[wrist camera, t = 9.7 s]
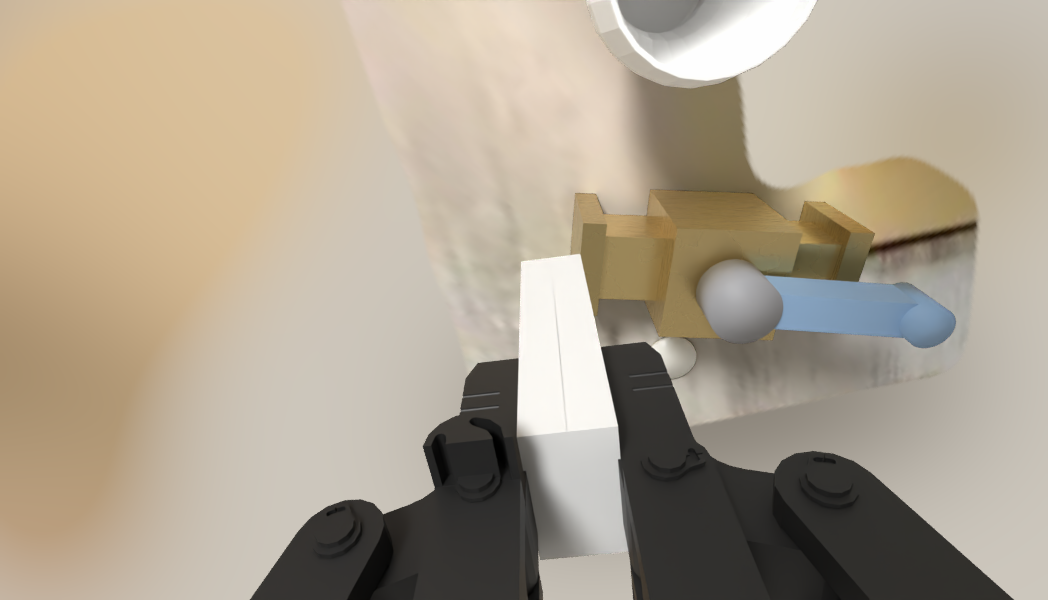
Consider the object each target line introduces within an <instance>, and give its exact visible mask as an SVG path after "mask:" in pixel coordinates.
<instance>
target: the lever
mask: <svg viewBox="0 0 1048 600" xmlns="http://www.w3.org/2000/svg"><path fill="white" fill-rule="evenodd" d="M696 299H697V303H698V305H699V307H700V308H701V310H702V312H703V314H704V315H705V317H706V319H707V320H708V322H709V324H710V325H711V327H712V329H713V330H714V332H715V333H716V334H717V335H718V336H719V337H720V338H721V339H723V340H725V341H728V342H731V343H737V344H743V343H750V342H754V341H756V340H759V339H761V338H763V337H764V336H766V335H767V334H769V333H770V332H771V331H772V330H773V329H781V330H796V331H811V332H825V333H840V334H855V335H870V336H884V337H899V338H905V339H906V340H907V341H908V342H910V343H911V344H912V345H913V346H915V347H919V348H929V347H933V346H936V345H938V344H940V343H942V342H943V341H945V340H946V339H947V338H948V337H949V336H950V335H951V334H952V332H953V330H954V328H955V324H956V320H955V316H954V315H953V313H952V312H950V311H949V310H947V309H946V308H945V307H943V306H942V305H940V304H939V303H937V302H936V301H935V300H933V299H932V298H930V297H929V296H927V295H926V294H925V293H923V292H922V291H920V290H919V289H917V288H916V287H915V286H913V285H912V284H909V283H896V284H893V285H892V284H877V283H863V282H849V281H835V280H821V279H807V278H792V277H778V276H764V275H763V274H762V273H761V272H760V271H759V270H758V268H757V267H756V266H754V265H753V264H751V263H750V262H747V261H744V260H739V259H731V260H725V261H722V262H719V263H717V264H715V265H714V266H712V267H711V268H709V269H708V270H707V271H706V272H705V273H704V274H703V275H702V277H701V278H700V280H699V282H698V285H697V288H696Z"/></svg>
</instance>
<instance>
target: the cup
mask: <svg viewBox="0 0 1048 600" xmlns="http://www.w3.org/2000/svg"><path fill="white" fill-rule="evenodd" d="M817 1H818V0H586V4H587V7H588V10H589V13H590V16H591V18H592V21H593V24H594V27H595V30H596V32H597V34H598V35H599V37H600V38H601V40H602V41H603V43H604V44H605V45H606V47H607V48H608V50H609V51H610V53H611V54H612V55H613V56H614V57H615V58H616V59H618V60H619V61H620V62H621V63H622V64H624V65H625V66H626V67H627V68H629V69H630V70H631V71H632V72H634V73H636V74H637V75H639V76H642V77H644V78H646V79H649V80H651V81H654V82H656V83H659V84H661V85H663V86H672V87H681V88H697V87H702V86H708V85H714V84H719V83H721V82H724V81H726V80H728V79H730V78H733V77H735V76H737V75H739V74H742V73H744V72H746V71H748V70H750V69H753V68H755V67H757V66H759V65H761V64H762V63H764V62H765V61H766V60H767V59H769V58H770V57H771V56H773V55H774V54H775V53H776V52H778V51H779V50H780V49H782V48H783V47H784V46H785V45H786V44H787V43H788V42H789V41H790V40H791V38H792V37H793V36H794V35H795V34H796V32H797V31H798V30H799V29H800V28H801V27H802V25H803V24H804V23H805V22H806V21H807V19H808V17H809V15H810V13H811V12H812V10H813V8H814V6H815V4H816V2H817Z"/></svg>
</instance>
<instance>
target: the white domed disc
mask: <svg viewBox="0 0 1048 600" xmlns="http://www.w3.org/2000/svg"><path fill="white" fill-rule="evenodd" d="M651 347H652V348H654V349H655V350H656V351H657V352H659V353H660V354H661V356H662V358H663V361H664V364H665V366H666V369H667V373H668V374H669V376H670V379H674V378H678V377H681V376H683V375H685V374H686V373H688V372H689V371H690V370H691V369H692V367H693V366H694V364H695V361H696V351H695V348H694V347H693V345H692V344H691V343H690V342H689V341H688V340H687V339H685V338H682V337H665V338H662V339H660V340H658V341H657V342H655V343H654V344H653V345H652V346H651Z"/></svg>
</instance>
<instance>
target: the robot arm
mask: <svg viewBox="0 0 1048 600" xmlns="http://www.w3.org/2000/svg"><path fill="white" fill-rule="evenodd" d="M423 449H424V452H425V456H426V459H427V462H428V466H429V469H430V473H431V476H432V479H433V483H434V486H435V490H434V491H433V492H431V493H430V494H429V495H427V496H426V497H424V498H423V499H421V500H419V501H416V502H414V503H412V504H410V505H408V506H405V507H402V508H399V509H397V510H394V511H391V512H388V513H386V514H382V512H381V511H380V510H379V509H378V508H377V507H376V506H375V504H373V503H370V502H367V501H364V500H345V501H342V502H339V503H336V504H333V505H331V506H328V507H326V508H324V509H323V510H321V511H320V512H318V513H317V514H315V515H314V516H312V517H311V518H310V519H309V520H308V521H307V522H306V523H305V524H304V526H303V527H302V528H301V529H300V530H299V531H298V532H297V534H296V535H295V537H294V538H293V539H292V541H291V543H290V544H289V545H288V547H287V548H286V549H285V551H284V552H283V554H282V555H281V556H280V558H279V559H278V561H277V562H276V564H275V565H274V566H273V568H272V569H271V571H270V572H269V574H268V575H267V576H266V578H265V579H264V581H263V582H262V584H261V585H260V586H259V588H258V589H257V591H256V592H255V593H254V595H253V596H252V598H251V599H250V600H543V591H542V586H541V580H540V576H539V568H538V566H539V565H538V551H539V556H540V560H545V559H556V558H567V557H578V556H589V555H599V554H611V553H621V552H622V553H623V552H629V557H630V565H631V576H632V589H633V600H1014V599H1012V598H1011V597H1010V596H1009V595H1008V594H1007V593H1006V592H1005V591H1003V590H1002V589H1001V588H1000V587H999V586H998V585H996V583H994V582H993V581H992V580H991V579H990V578H989V577H987V575H985V574H984V573H983V572H982V571H981V570H980V569H979V568H978V567H976V566H975V565H974V564H973V563H972V562H971V561H970V560H968V559H967V558H966V557H965V556H964V555H963V554H962V553H961V552H960V551H958V550H957V549H956V548H955V547H954V546H953V545H952V544H951V543H949V542H948V541H947V540H946V539H945V538H944V537H943V536H942V535H940V534H939V533H938V532H937V531H936V530H935V529H934V528H932V527H931V526H930V525H929V524H928V523H927V522H926V521H925V520H923V519H922V518H921V517H920V516H919V515H918V514H917V513H916V512H915V511H913V510H912V509H911V508H910V507H909V506H908V505H907V504H905V503H904V502H903V501H902V500H901V499H900V498H899V497H898V496H897V495H895V494H894V493H893V492H892V491H891V490H890V489H889V488H887V487H886V486H885V485H884V484H883V483H882V482H881V481H880V480H878V479H877V478H876V477H875V476H874V475H873V474H872V473H870V472H869V471H868V470H866V469H865V468H863V467H861V466H860V465H859V464H857V463H855V462H854V461H852V460H848V459H846V458H843V457H841V456H838V455H835V454H831V453H822V452H815V451H811V452H804V453H796V454H794V455H792V456H790V457H788V458H786V459H784V460H782V461H781V463H780V464H779V466H778V467H777V469H776V470H775V473H767V472H760V471H753V470H746V469H742V468H737V467H733V466H729V465H727V464H724V463H722V462H719V461H717V460H716V459H714V458H712V457H711V456H710V455H709V453H708V452H707V450H706V449H705V448H704V447H703V446H701V445H700V444H698V443H697V442H696V441H695V439H694V437H693V435H692V433H691V430H690V427H689V425H688V422H687V420H686V417H685V415H684V412H683V410H682V407H681V404H680V402H679V399H678V397H677V394H676V392H675V389H674V387H673V385H672V381H671V379H670V376H669V374H668V373H667V369H666V366H665V364H664V361H663V358H662V356H661V354H660V353H659V352H657V351H656V350H655V349H654V348H652V347H651V346H650V345H649V344H647V343H646V342H640V343H632V344H623V345H615V346H606V347H600V342H599V337H598V333H597V328H596V324H595V319H594V315H593V310H592V305H591V301H590V296H589V292H588V287H587V283H586V278H585V273H584V269H583V264H582V260H581V255H580V254H575V255H568V256H560V257H552V258H544V259H536V260H529V261H521V294H520V332H519V358H517V359H509V360H500V361H492V362H483V363H478V364H477V365H476V366H475V367H474V369H473V370H472V371H471V372H470V374H469V375H468V376H467V378H466V380H465V386H464V392H463V399H462V404H461V412H460V415H459V416H455V417H453V418H451V419H449V420H447V421H445V422H443V423H441V424H440V425H439V426H437V427H436V428H435V429H434V430H433V431H432V432H431V433H430V434H429V435H428V437H427V439H426V441H425V443H424V445H423Z"/></svg>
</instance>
